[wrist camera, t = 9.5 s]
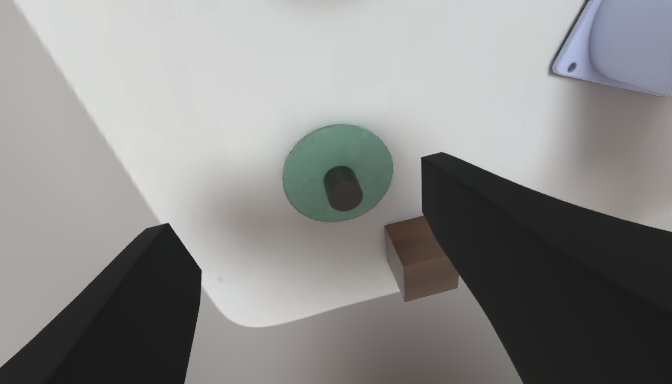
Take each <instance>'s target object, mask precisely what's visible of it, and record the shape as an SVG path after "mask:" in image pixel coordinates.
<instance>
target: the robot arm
mask: <svg viewBox="0 0 672 384" xmlns="http://www.w3.org/2000/svg"><path fill="white" fill-rule="evenodd" d="M570 64H571V66H570V67H569V65H570ZM568 67H569V69H568ZM552 70H553V72H554V73H556V74H559V75H563V76H567V77H572V78H577V79H581V80H586V81H591V82H595V83H600V84H605V85H609V86H614V87H619V88H623V89H628V90H633V91H637V92H642V93H647V94H651V95H656V96H665V95H666V96H669V97H672V0H589V1H588V3H587V5H586V7H585V8H584V10H583V12H582V14H581V15H580V17H579V19H578V21H577V23H576V24H575V26H574V28H573V30H572V32H571V33H570V35H569V37H568V39H567V41H566V42H565V44H564V46H563V48H562V49H561V51H560V53H559V55H558V57H557V58H556V60H555V62H554V64H553V67H552ZM421 171H422V212H423V214H424V217H425V219H426V221H427V223H428V225H429V227H430V229H431V231H432V233H433V235H434V237H435V239H436V240H437V242H438V243H439V245H440V247H441V248H442V250H443V251H444V253H445V254H446V256H447V257H448V259H449V260H450V262H451V263H452V264H453V266H454V267H455V269H456V270H457V272H458V273H459V275H460V276H461V278H462V279H463V280H464V282H465V283H466V285H467V287H468V288H469V289H470V291H471V292H472V294H473V295H474V297H475V298H476V300H477V301H478V303H479V304H480V306H481V307H482V309H483V311H484V312H485V314H486V315H487V317H488V319H489V320H490V322H491V324H492V326H493V327H494V329H495V331H496V333H497V335H498V337H499V338H500V340H501V342H502V344H503V346H504V348H505V349H506V351H507V353H508V355H509V357H510V359H511V361H512V362H513V364H514V366H515V368H516V370H517V372H518V374H519V376H520V378H521V380H522V382H523V384H672V232H670V231H666V230H661V229H657V228H653V227H649V226H645V225H641V224H638V223H634V222H630V221H626V220H623V219H619V218H616V217H613V216H609V215H606V214H603V213H599V212H596V211H593V210H589V209H586V208H583V207H580V206H577V205H574V204H571V203H568V202H565V201H562V200H559V199H556V198H554V197H551V196H548V195H545V194H543V193H540V192H537V191H535V190H532V189H529V188H527V187H524V186H522V185H519V184H517V183H514V182H512V181H509V180H507V179H505V178H502V177H500V176H498V175H495V174H493V173H491V172H488V171H486V170H484V169H481V168H479V167H477V166H475V165H472V164H470V163H468V162H466V161H463V160H461V159H459V158H456V157H454V156H451V155H449V154H446V153H443V152H440V153H436V154H432V155H428V156H425V157H421ZM201 274H202V270H201V269H200V267H199V266H198V265H197V263H196V262H195V260H194V259H193V257H192V256H191V255H190V253H189V252H188V250H187V249H186V247H185V246H184V245H183V243H182V242H181V240H180V239H179V237H178V236H177V235H176V233H175V232H174V230H173V229H172V227H171V226H170V224H169V223H166V224H162V225H158V226H154V227H150V228H147V229H145V230H144V231H143V232H142V233H140V234H139V235H138V236H137V237H136V238H135V239H134V240H133V241H132V242H131V243H130V244H129V245H128V246H127V247H126V248H125V249H124V250H123V251H122V252H121V253H120V254H119V255H118V256H117V257H116V258H115V259H114V260H113V261H112V262H111V263H110V264H109V265H108V266H107V267H106V268H105V269H104V270H103V271H102V272H101V273H100V274H99V275H98V276H97V277H96V278H95V279H94V280H93V281H92V282H91V283H90V284H89V285H88V286H87V287H86V288H85V289H84V290H83V291H82V292H81V293H80V294H79V295H78V296H77V297H76V298H75V299H74V300H73V301H72V302H71V303H70V304H69V305H68V306H67V307H66V308H64V310H62V311H61V312H60V313H59V314H58V315H57V316H56V317H55V318H54V319H53V320H52V321H51V322H50V323H49V324H48V325H47V326H46V327H45V328H44V329H42V331H40V332H39V333H38V335H36V336H35V337H34V338H33V339H32V340H31V341H30V342H29V343H28V344H27V345H26V346H24V347H23V348H22V349H21V350H20V351H19V352H18V353H16V354H15V355H14V356H13V357H12V358H11V359H10V360H9V361H8V362H6V363H5V364H4V365H3V366H2V367H1V368H0V384H184V382H185V377H186V372H187V367H188V362H189V357H190V352H191V347H192V342H193V337H194V333H195V327H196V322H197V317H198V312H199V306H200V296H201Z"/></svg>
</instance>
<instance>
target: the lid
mask: <svg viewBox="0 0 672 384" xmlns="http://www.w3.org/2000/svg"><path fill="white" fill-rule="evenodd" d="M392 174H393V163H392V158H391V155H390V153H389V151H388V149H387V147H386V146H385V144H384V143H383V142H382V140H381V139H380V138H378V137H377V136H376V135H375V134H373V133H372V132H370V131H368V130H366V129H364V128H361V127H357V126H353V125H334V126H329V127H325V128H322V129H319V130H317V131H315V132H313V133H311V134H309V135H308V136H306V137H305V138H304V139H302V140H301V141H300V142H299V143H298V144H297V145H296V146H295V147H294V149H293V150H292V151H291V153H290V154H289V156H288V158H287V160H286V163H285V166H284V170H283V186H284V190H285V194H286V196H287V198H288V200H289V201H290V203H291V204H292V205H293V207H294V208H295V209H296V210H298V211H299V212H300V213H302V214H303V215H305V216H307V217H309V218H311V219H314V220H318V221H324V222H340V221H345V220H349V219H353V218H355V217H358V216H360V215H362V214H364V213H366V212H367V211H369V210H370V209H372V208H373V207H374V206H375V205H376V204H377V203H378V202H379V201H380V200H381V199H382V198H383V196H384V195H385V193H386V192H387V190H388V188H389V186H390V183H391V180H392Z"/></svg>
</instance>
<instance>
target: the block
mask: <svg viewBox="0 0 672 384" xmlns="http://www.w3.org/2000/svg"><path fill="white" fill-rule="evenodd" d="M385 237H386V248H387V259H388V263H389V265H390V268H391V270H392V272H393V275H394V277H395V280H396V282H397V284H398V287H399V289H400V291H401V294H402V296H403V298H404V301H405V302H407V301H410V300H414V299H418V298H422V297H426V296H429V295H433V294H437V293H441V292H444V291H448V290H452V289H456V288H457V286H458V278H459V273H458V272H457V270H456V269H455V267H454V266H453V264H452V263H451V262H450V260H449V259H448V257H447V256H446V254H445V253H444V251H443V250H442V248H441V247H440V245H439V243H438V242H437V240H436V239H435V237H434V235H433V233H432V231H431V229H430V227H429V225H428V223H427V221H426V219H425V217H424V216H423V217H419V218H415V219H411V220H407V221H403V222H399V223H395V224H391V225H387V226H385Z"/></svg>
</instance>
